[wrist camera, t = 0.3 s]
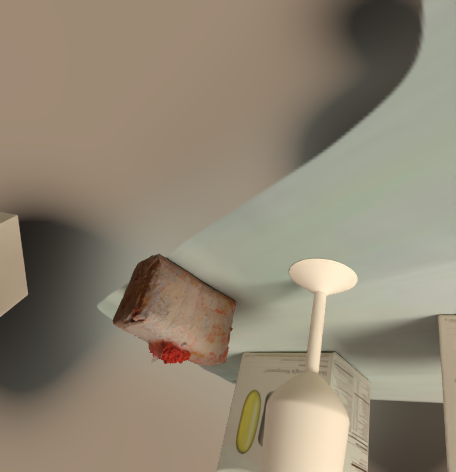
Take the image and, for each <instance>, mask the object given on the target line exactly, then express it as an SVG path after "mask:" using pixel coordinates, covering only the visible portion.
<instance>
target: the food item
mask: <svg viewBox="0 0 456 472" xmlns="http://www.w3.org/2000/svg"><path fill="white" fill-rule="evenodd" d="M235 306H236V301H234V300H232V299H231V298H229V297H227V296H225V295H224V294H222V293H220V292H218V291H216V290H214V289H213V288H211V287H210V286H208V285H206V284H205V283H203V282H202V281H200V280H199V279H197V278H196V277H194V276H193V275H191V274H190V273H189V272H187V271H185V270H184V269H182V268H181V267H179V266H178V265H176V264H174V263H173V262H171V261H170V260H168V259H167V258H165V257H163V256H162V255H160V254H158V255H155V256H151V257H149V258H148V259H146V260H144V261H141V262H140V263H139V264H137V266H136V268H135V270H134V272H133V275H132V277H131V280H130V283H129V285H128V287H127V289H126V291H125V293H124V297H123V299H122V301H121V303H120V305H119V307H118V310H117V312H116V314H115V316H114V318H113V324H114V325H116V326H117V327H119V328H121V329H123V330H124V331H126V332H128V333H131V334H133V335H134V336H137V337H138V338H140V339H142V340H144V341H146V342H148V343H149V349H150V353H153V359H152V362H154V361H156V360H157V359H161V360H163V361H164V363H165V364H167V363H177V362H179V363H182V362H183V361H185V360H188V361H191V362H194V363H196V364H199V365H203V366H209V367H210V366H213V365H217V364H221V363H225V361H226V357H227V354H228V349H229V347H228V344H229V340H230V332H231V331H232V329H233V328H231V326H232V322H233V314H234V310H235Z"/></svg>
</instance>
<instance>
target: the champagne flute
mask: <svg viewBox="0 0 456 472" xmlns="http://www.w3.org/2000/svg"><path fill="white" fill-rule="evenodd" d="M289 274H290V277H291V278H292V280H293V281H294V282H296V283H297V284H298V285H300V286H302V287H303V288H305V289H307V290H309V291H310V292H312V293H314V300H313V308H312V316H311V324H310V333H309V341H308V349H307V357H306V365H305V372H303V373H300V374H297V375H295V376H294V377H293V378H291V379H290V380H288V381H287V382H285V383H284V384H282V385H281V386H280V387H279V388H278V389H277V390H276V391H275V392H274V393H273V394H272V395H271V397H270V398H269V399H268V401H267V404H266V413H265V425H264V437H263V450H262V462H261V472H343V466H344V459H345V452H346V445H347V439H348V432H349V425H350V422H349V417H348V414H347V412H346V409H345V407H344V405H343V403H342V402H341V400H340V398H339V397H338V396H337V394H336V393H335V392H334V391H333V389H332V388H331V387H330V386H329V384H328V383H327V382H326V381H325V380H324V379H323V378H322V377H321V376H319V375H318V373H319V363H320V354H321V344H322V334H323V325H324V315H325V306H326V296H327V295H331V294H335V293H339V292H343V291H346V290H349V289H351V288H352V287H354V286H355V285H356V283H357V276H356V274H355V272H354V271H353V270H352V269H350V268H349V267H347V266H346V265H344V264H341V263H339V262H336V261H332V260H327V259H306V260H302V261H299V262H297V263H295V264H294V265H292V266H291V268H290V270H289Z"/></svg>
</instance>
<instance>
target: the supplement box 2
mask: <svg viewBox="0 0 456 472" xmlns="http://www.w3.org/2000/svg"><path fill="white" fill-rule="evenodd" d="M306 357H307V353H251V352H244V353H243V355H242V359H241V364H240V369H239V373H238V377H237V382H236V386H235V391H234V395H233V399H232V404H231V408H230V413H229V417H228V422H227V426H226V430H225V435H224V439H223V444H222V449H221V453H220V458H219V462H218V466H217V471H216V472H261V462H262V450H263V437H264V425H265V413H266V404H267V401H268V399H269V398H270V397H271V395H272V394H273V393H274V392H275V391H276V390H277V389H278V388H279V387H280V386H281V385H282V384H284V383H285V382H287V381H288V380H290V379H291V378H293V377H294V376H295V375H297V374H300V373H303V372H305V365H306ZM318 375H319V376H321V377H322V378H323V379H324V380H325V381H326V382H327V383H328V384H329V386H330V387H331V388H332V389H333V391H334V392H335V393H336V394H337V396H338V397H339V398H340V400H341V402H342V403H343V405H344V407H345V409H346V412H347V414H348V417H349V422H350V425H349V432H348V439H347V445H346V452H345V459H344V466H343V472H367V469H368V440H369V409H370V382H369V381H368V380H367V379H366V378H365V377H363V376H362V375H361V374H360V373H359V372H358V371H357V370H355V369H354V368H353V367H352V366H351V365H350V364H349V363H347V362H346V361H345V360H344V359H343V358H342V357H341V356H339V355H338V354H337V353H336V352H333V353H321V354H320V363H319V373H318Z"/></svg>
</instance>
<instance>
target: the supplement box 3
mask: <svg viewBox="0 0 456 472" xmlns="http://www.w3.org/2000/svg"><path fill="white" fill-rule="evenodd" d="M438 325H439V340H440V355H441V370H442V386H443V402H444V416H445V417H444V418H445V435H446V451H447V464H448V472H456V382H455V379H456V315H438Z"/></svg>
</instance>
